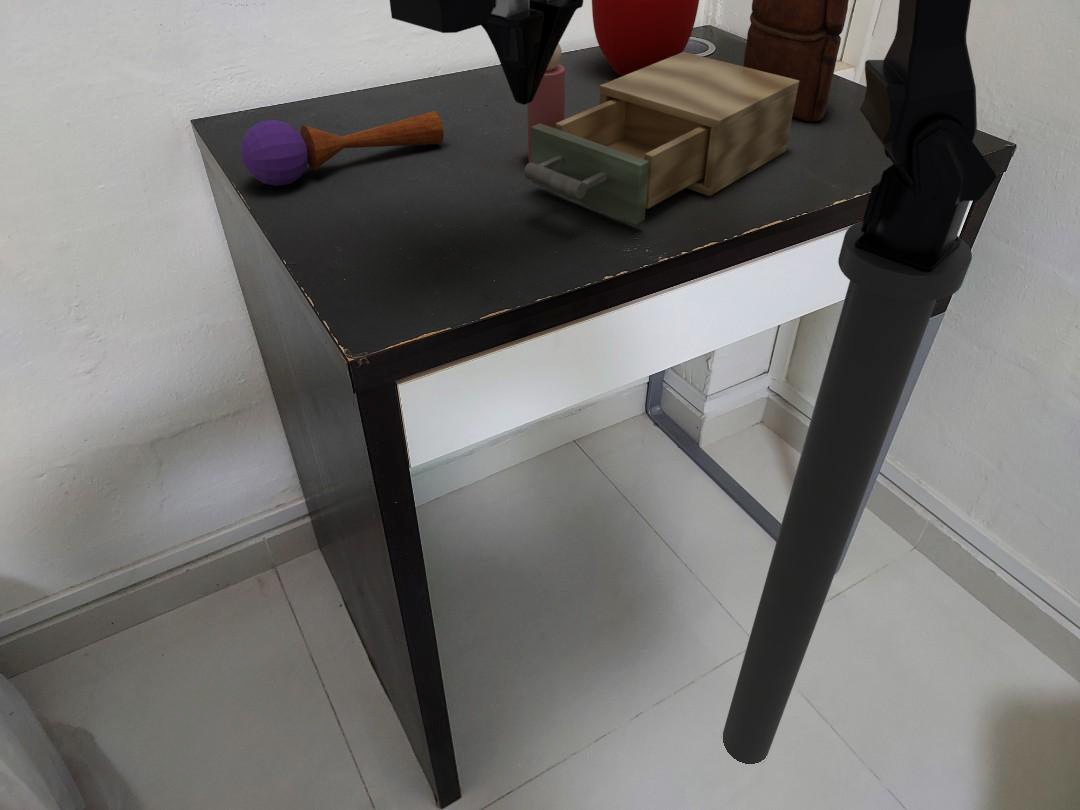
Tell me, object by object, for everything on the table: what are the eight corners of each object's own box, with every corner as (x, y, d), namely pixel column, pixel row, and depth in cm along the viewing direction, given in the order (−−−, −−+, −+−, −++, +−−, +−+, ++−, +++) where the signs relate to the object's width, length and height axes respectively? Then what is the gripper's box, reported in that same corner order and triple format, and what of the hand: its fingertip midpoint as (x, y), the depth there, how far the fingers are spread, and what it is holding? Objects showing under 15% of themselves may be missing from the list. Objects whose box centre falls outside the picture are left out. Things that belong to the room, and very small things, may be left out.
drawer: (604, 243, 65) (607, 182, 61) (499, 197, 71) (496, 140, 68) (719, 177, 74) (727, 121, 70) (616, 142, 80) (619, 89, 77)
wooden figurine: (845, 112, 88) (889, -74, 76) (812, 127, 85) (853, -64, 73) (757, 86, 95) (785, -88, 83) (724, 99, 92) (749, -80, 80)
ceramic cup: (728, 60, 102) (740, -26, 96) (651, 95, 93) (659, 3, 86) (647, 41, 109) (653, -41, 103) (568, 72, 100) (569, -16, 93)
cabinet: (709, 196, 73) (719, 120, 68) (597, 156, 80) (599, 85, 75) (785, 151, 80) (799, 80, 76) (676, 118, 87) (683, 51, 83)
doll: (571, 160, 79) (573, 36, 72) (547, 171, 78) (545, 45, 70) (545, 150, 81) (544, 28, 74) (521, 161, 79) (517, 37, 72)
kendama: (451, 114, 79) (250, 145, 70) (447, 167, 83) (257, 203, 74) (424, 86, 82) (228, 112, 73) (422, 139, 86) (237, 169, 77)
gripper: (527, -169, 59) (532, 51, 69) (317, -143, 49) (359, 111, 59) (646, -160, 53) (632, 79, 63) (435, -128, 43) (459, 151, 53)
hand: (523, 102), depth 60 cm, fingers closed
